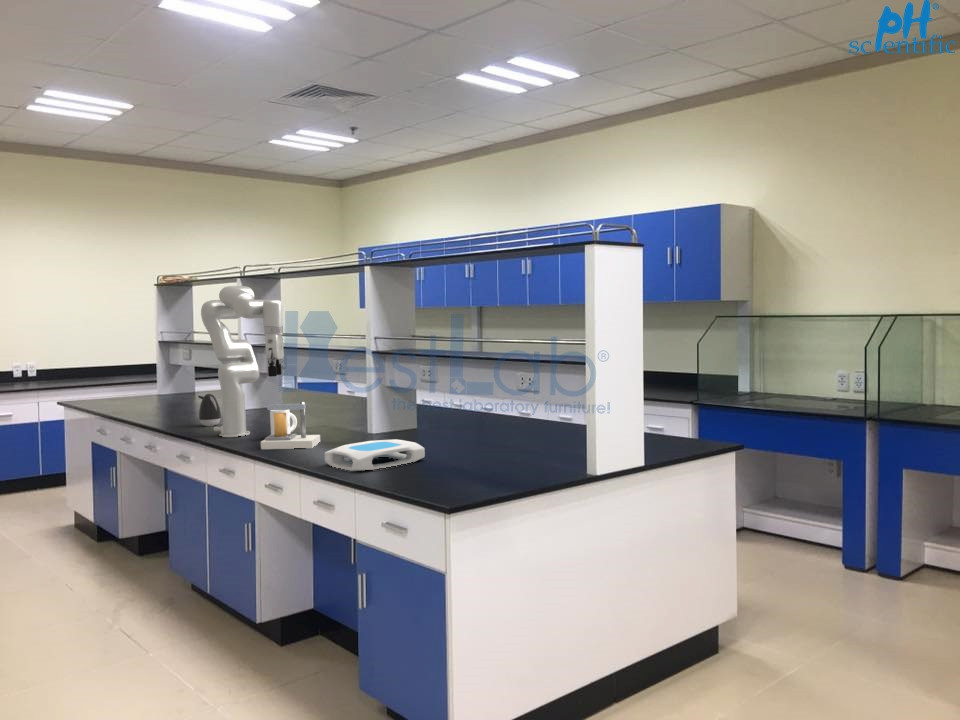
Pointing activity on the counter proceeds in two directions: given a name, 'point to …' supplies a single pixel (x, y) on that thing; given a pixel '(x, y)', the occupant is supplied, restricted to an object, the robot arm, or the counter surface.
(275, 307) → the robot arm
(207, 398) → the pump dispenser
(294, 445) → the socket block
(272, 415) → the mug
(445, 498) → the counter surface
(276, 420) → the plug
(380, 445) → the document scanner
